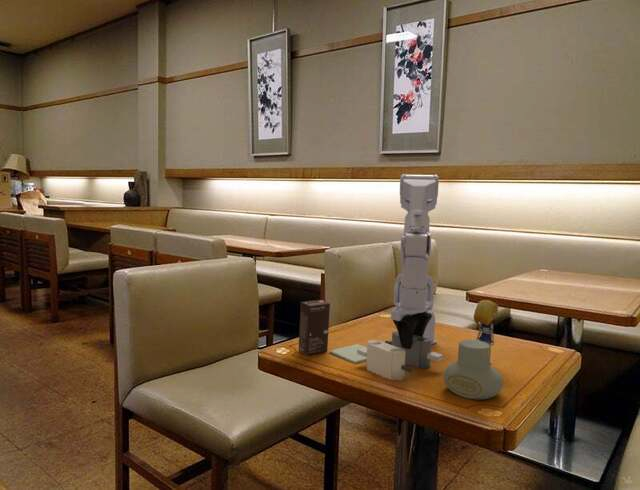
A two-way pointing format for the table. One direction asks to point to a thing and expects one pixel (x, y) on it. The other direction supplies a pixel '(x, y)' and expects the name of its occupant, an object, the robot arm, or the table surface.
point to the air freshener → (473, 372)
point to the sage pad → (350, 353)
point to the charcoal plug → (417, 351)
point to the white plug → (385, 359)
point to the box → (314, 326)
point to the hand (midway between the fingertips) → (411, 345)
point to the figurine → (485, 320)
